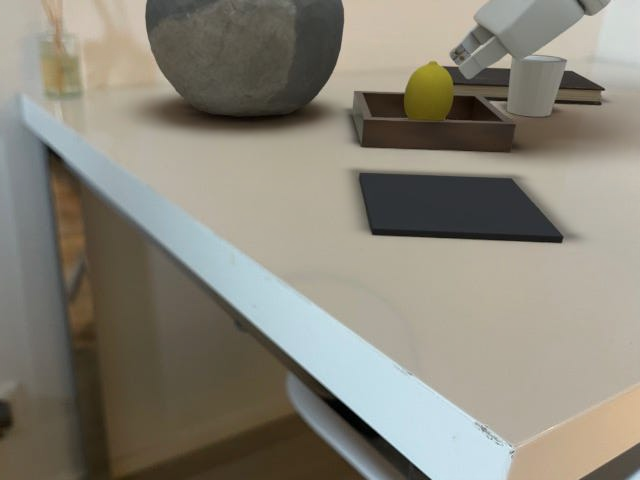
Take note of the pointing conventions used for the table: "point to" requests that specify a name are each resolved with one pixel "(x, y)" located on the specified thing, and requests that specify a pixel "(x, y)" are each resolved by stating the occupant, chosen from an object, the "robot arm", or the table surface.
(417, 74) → the lemon
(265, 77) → the bowl
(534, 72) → the white cup
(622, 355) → the table surface
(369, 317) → the table surface
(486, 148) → the tray
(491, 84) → the hardcover book
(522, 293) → the table surface
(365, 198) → the pad
